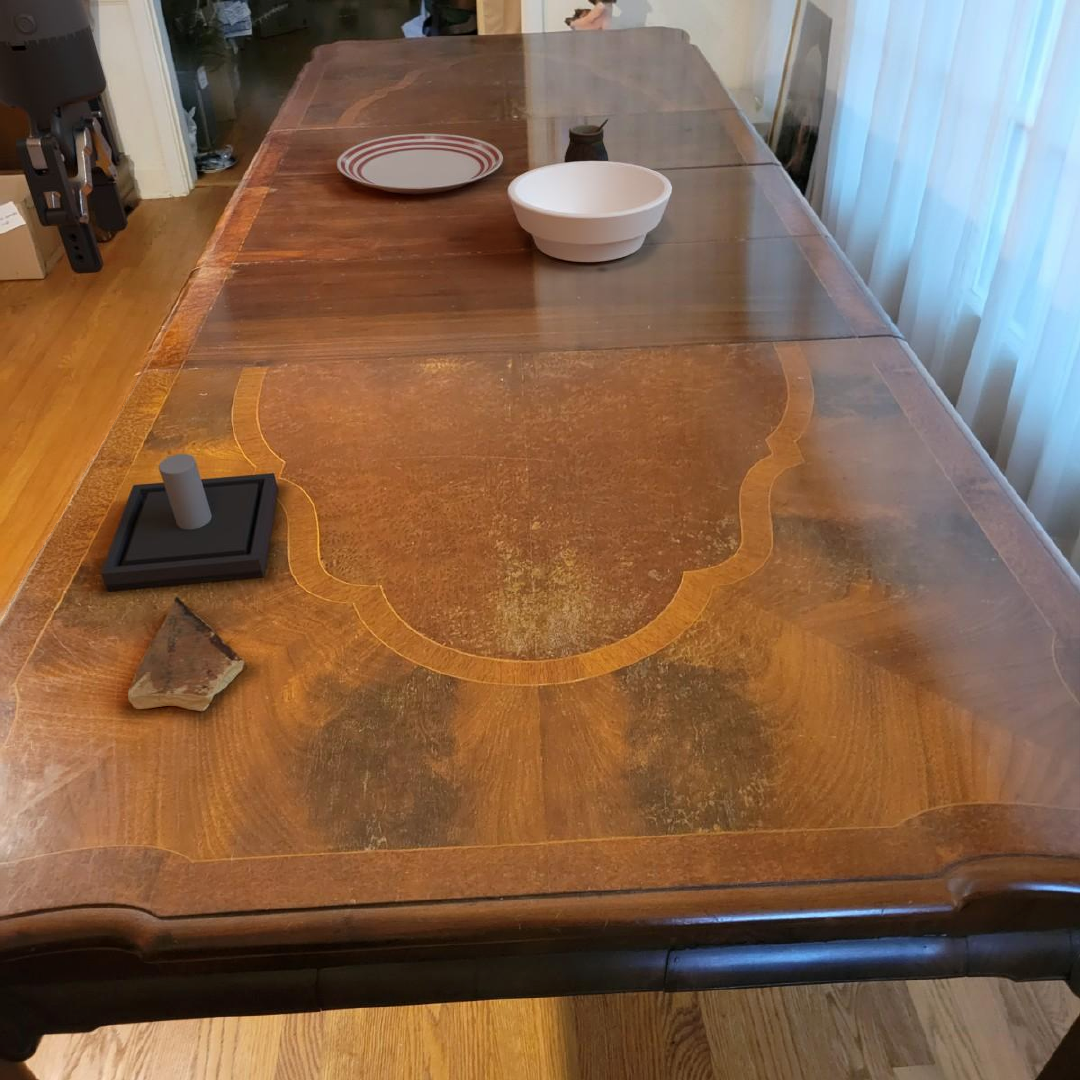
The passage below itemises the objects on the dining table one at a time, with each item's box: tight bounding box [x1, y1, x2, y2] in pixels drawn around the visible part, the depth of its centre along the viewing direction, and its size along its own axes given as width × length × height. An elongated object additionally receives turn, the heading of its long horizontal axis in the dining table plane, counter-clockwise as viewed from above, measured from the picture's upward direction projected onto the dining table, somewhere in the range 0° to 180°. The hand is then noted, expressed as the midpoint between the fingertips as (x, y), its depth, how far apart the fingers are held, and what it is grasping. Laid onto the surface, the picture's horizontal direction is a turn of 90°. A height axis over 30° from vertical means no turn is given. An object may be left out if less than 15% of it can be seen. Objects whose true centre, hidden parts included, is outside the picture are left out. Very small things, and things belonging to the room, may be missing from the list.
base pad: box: [100, 472, 279, 592], centre depth 87 cm, size 13×13×2 cm
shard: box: [127, 596, 245, 712], centre depth 75 cm, size 11×8×2 cm
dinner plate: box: [336, 133, 504, 195], centre depth 164 cm, size 28×27×3 cm
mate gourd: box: [563, 118, 610, 163], centre depth 158 cm, size 7×8×10 cm
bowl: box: [507, 160, 673, 263], centre depth 136 cm, size 22×22×8 cm
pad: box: [125, 453, 260, 566], centre depth 85 cm, size 10×10×7 cm
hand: (102, 249), depth 78 cm, fingers open, 8 cm apart
